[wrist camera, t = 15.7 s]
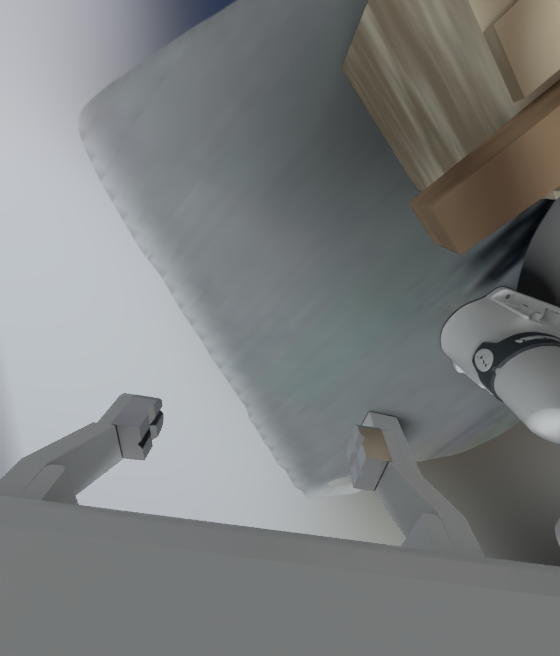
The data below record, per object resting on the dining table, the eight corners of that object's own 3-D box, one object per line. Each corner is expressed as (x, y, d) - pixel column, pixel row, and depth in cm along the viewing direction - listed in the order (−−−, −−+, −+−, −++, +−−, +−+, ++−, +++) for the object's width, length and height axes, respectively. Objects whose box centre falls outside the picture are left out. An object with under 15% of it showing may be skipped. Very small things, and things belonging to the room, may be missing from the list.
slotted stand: (454, -59, 31) (957, -824, 8) (524, 102, 38) (918, -37, 14) (341, 68, 37) (423, -140, 13) (417, 190, 43) (568, 200, 19)
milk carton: (368, 410, 65) (393, 489, 48) (396, 417, 66) (431, 497, 49) (357, 431, 68) (377, 511, 52) (384, 436, 69) (413, 518, 52)
